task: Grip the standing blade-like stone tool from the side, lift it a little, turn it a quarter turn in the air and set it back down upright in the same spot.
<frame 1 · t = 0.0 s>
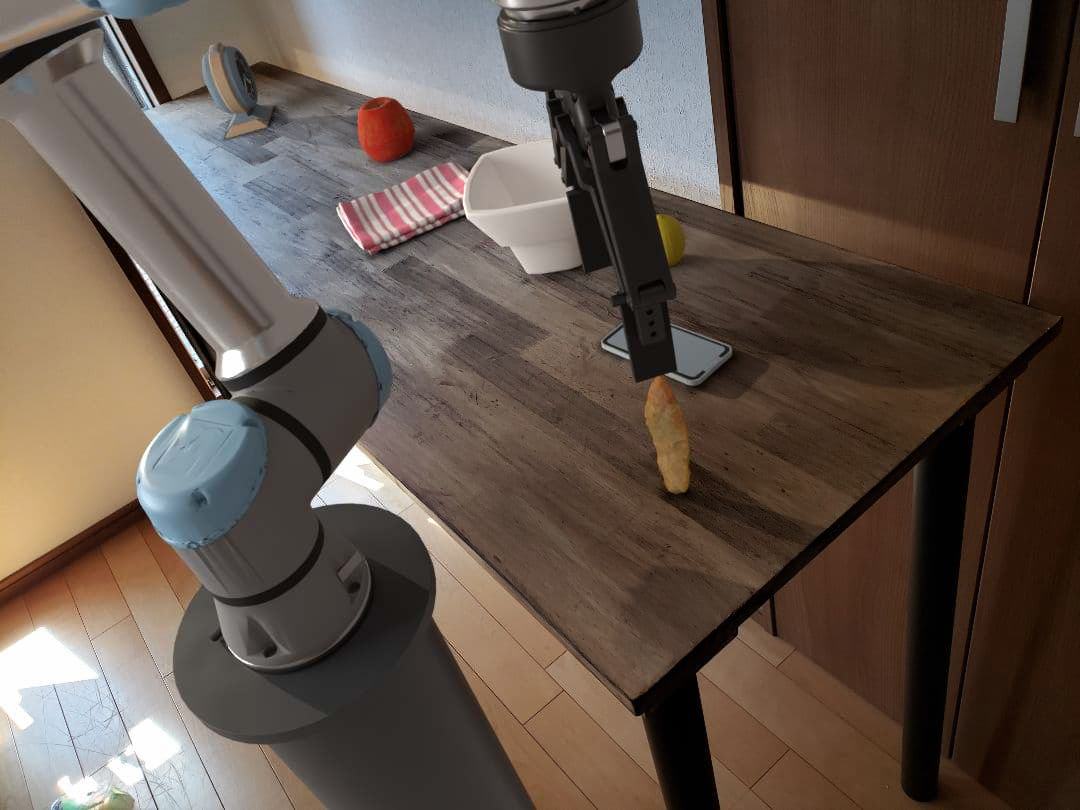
hand: (626, 315, 58), 29 cm above the table, tool pointing down, fingers open, 13 cm apart
alarm clock: (250, 123, 193), on the table
dish towel: (417, 213, 140), on the table
smartphone: (665, 351, 99), on the table
lemon: (667, 268, 112), on the table
bowl: (556, 261, 119), on the table
stone tool: (677, 491, 83), on the table
apple: (394, 153, 161), on the table
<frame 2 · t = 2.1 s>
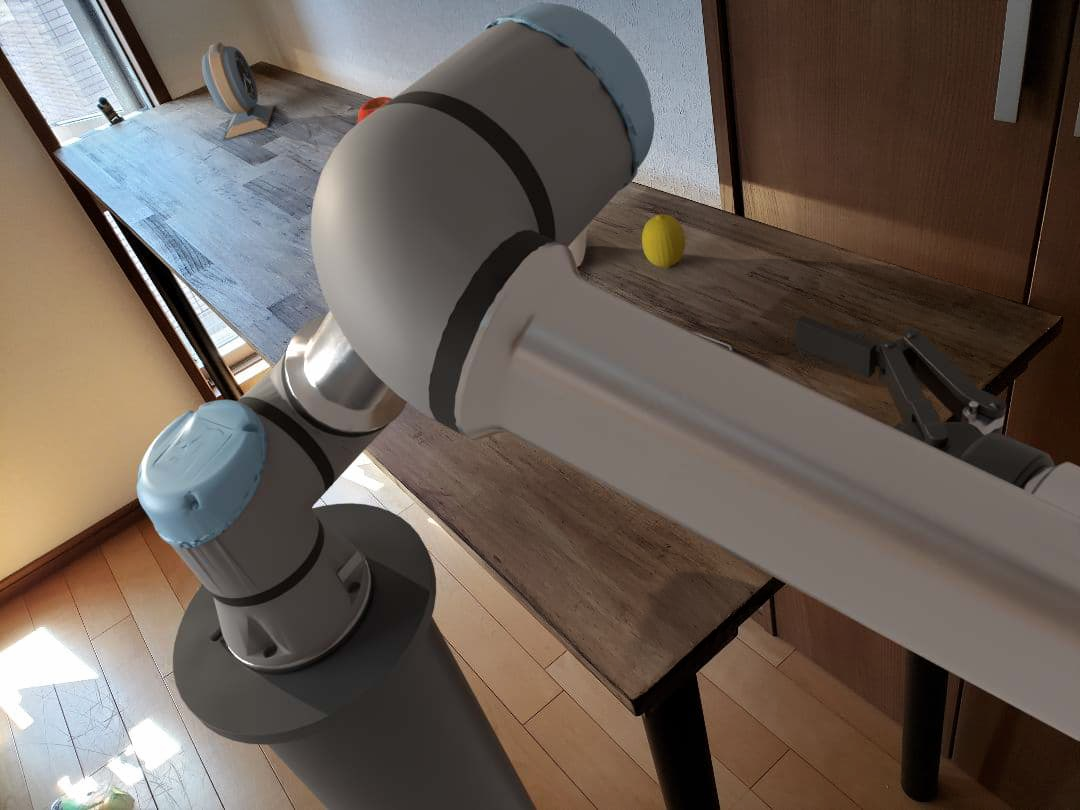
hand: (741, 378, 63), 20 cm above the table, tool horizontal, fingers open, 13 cm apart
nothing on the table moved.
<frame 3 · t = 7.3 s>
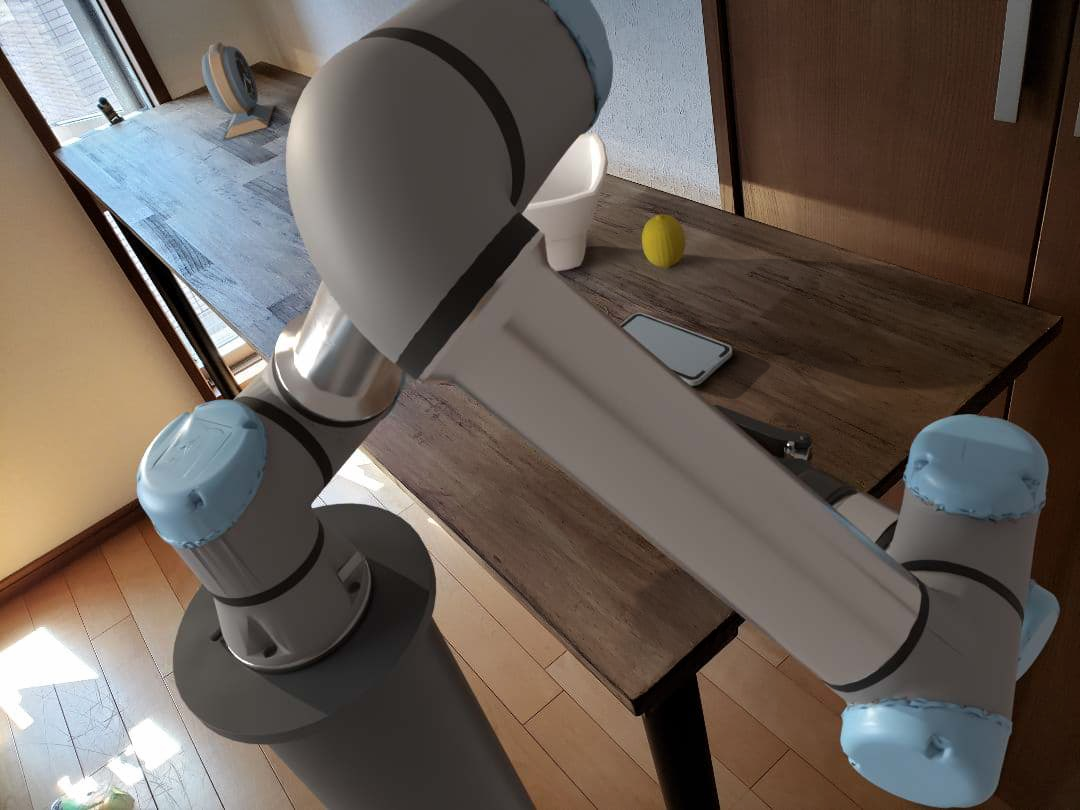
hand: (626, 409, 81), 8 cm above the table, tool horizontal, fingers closed on stone tool, 2 cm apart
stone tool: (678, 491, 83), on the table, touching gripper
everything else where it was.
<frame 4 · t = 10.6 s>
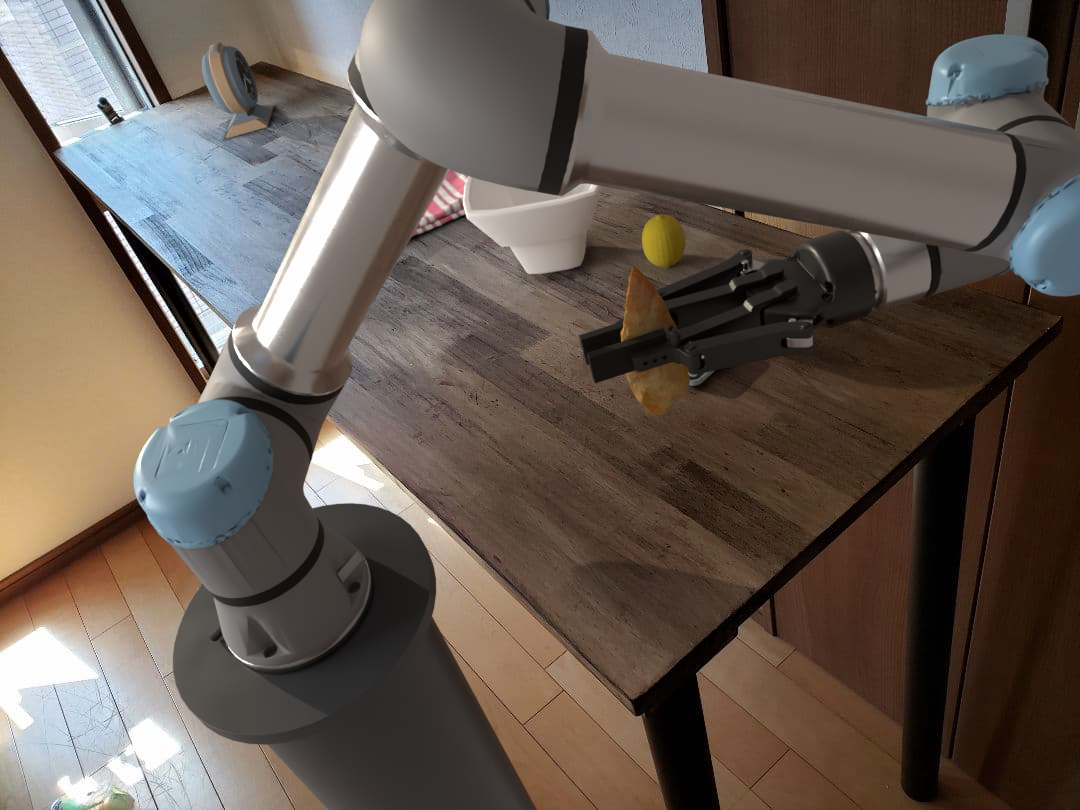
hand: (587, 359, 69), 20 cm above the table, tool horizontal, fingers closed on stone tool, 2 cm apart
stone tool: (664, 412, 74), point 12 cm above the table, touching gripper
everything else where it was.
when the fingers open (8 cm above the table, at t = 14.4 s): stone tool stays where it is, on the table.
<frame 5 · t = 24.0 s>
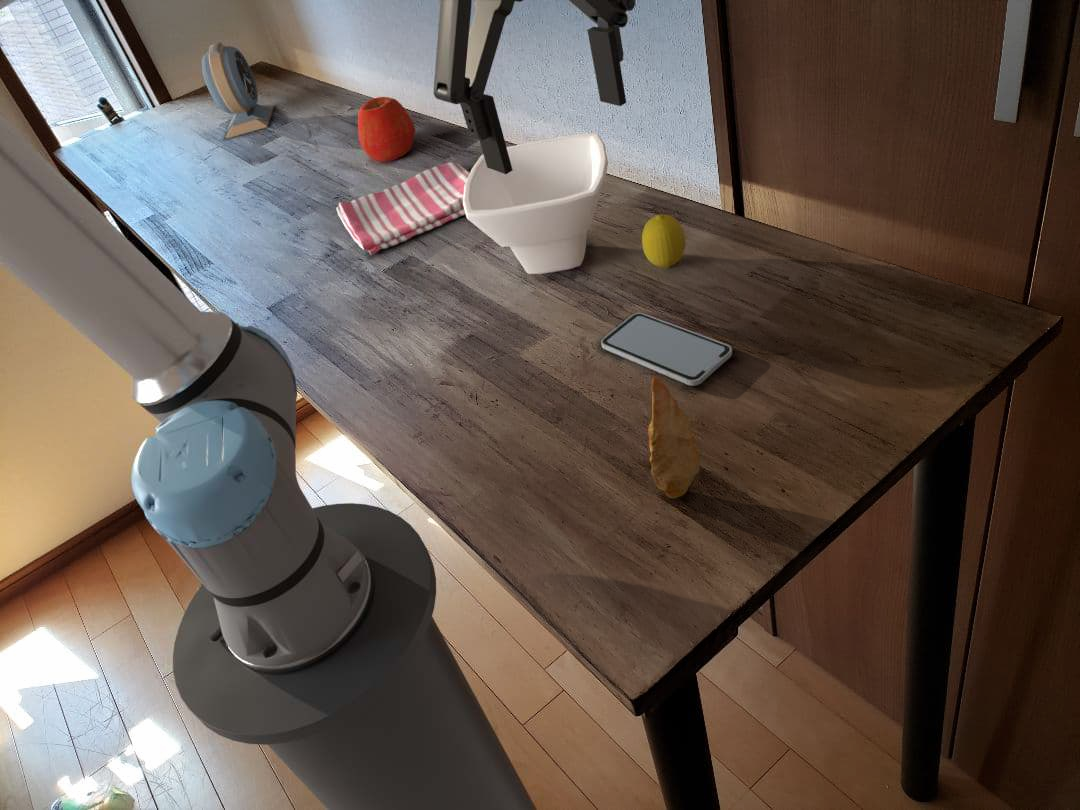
hand: (558, 134, 74), 32 cm above the table, tool pointing down, fingers open, 13 cm apart
stone tool: (679, 493, 83), on the table
everything else where it was.
at the end: stone tool inside the target area (0.3 cm from its centre), on the table; stone tool tilted 0°; the gripper is holding nothing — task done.
